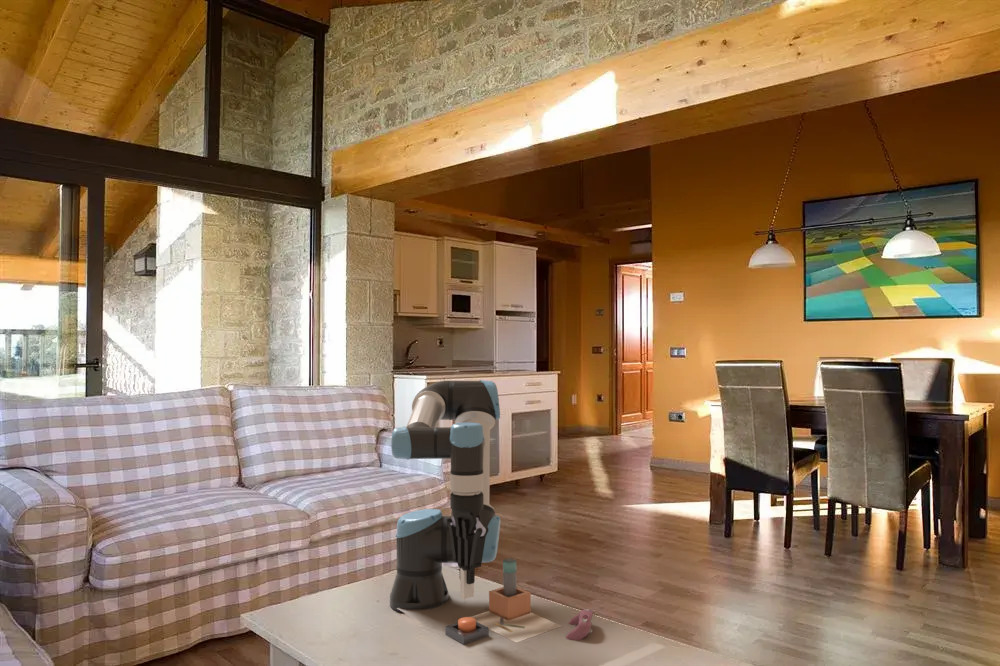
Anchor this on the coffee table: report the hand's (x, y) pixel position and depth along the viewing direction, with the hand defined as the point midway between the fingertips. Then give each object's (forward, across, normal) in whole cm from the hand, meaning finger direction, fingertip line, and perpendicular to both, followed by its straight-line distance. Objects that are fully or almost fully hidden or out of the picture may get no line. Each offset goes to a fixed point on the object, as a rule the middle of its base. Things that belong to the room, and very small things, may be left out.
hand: (467, 596), depth 159 cm
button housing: (+10, 0, 0) cm, 10 cm away
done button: (+8, 0, 0) cm, 8 cm away
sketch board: (+10, -1, -13) cm, 17 cm away
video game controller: (+10, -14, -22) cm, 28 cm away
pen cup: (+9, +4, -16) cm, 19 cm away
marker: (+8, +4, -16) cm, 19 cm away
